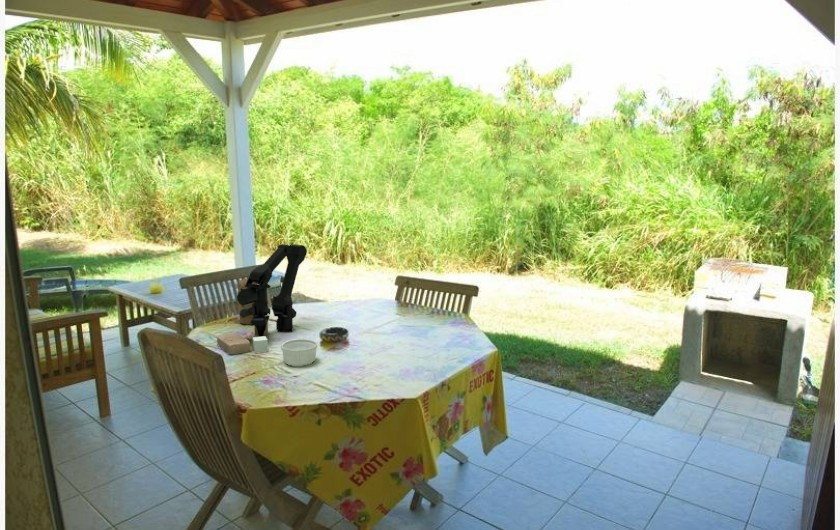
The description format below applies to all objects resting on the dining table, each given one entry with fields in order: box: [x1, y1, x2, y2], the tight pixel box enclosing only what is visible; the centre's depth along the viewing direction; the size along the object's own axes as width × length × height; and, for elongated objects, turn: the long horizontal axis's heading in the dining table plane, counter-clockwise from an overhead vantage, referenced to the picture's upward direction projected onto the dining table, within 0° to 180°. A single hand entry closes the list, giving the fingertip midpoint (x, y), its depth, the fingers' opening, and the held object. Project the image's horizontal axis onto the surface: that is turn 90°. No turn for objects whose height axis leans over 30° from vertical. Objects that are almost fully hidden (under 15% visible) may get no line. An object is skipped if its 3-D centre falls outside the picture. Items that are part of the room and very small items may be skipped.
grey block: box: [252, 336, 269, 354], centre depth 223 cm, size 5×5×5 cm
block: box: [237, 278, 255, 325], centre depth 259 cm, size 11×8×20 cm
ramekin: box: [280, 338, 318, 367], centre depth 212 cm, size 13×13×7 cm
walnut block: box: [253, 322, 269, 340], centre depth 237 cm, size 5×5×6 cm
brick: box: [216, 331, 251, 355], centre depth 225 cm, size 17×8×5 cm, turn 38°
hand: (261, 335), depth 237 cm, fingers closed on walnut block, 5 cm apart
